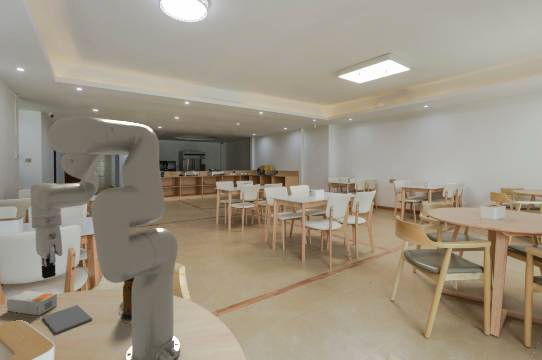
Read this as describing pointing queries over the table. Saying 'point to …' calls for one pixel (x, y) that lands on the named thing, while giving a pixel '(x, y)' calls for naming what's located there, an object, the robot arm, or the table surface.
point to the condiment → (127, 301)
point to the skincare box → (32, 302)
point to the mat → (66, 319)
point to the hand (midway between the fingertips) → (48, 276)
